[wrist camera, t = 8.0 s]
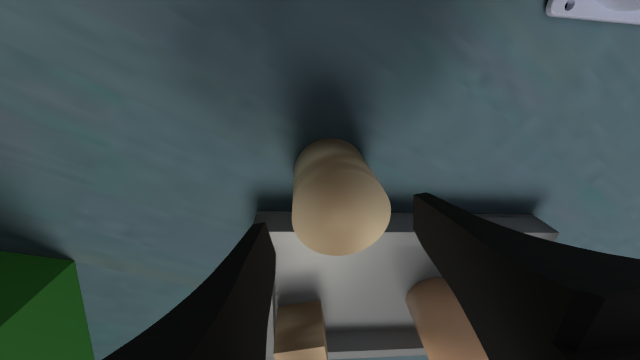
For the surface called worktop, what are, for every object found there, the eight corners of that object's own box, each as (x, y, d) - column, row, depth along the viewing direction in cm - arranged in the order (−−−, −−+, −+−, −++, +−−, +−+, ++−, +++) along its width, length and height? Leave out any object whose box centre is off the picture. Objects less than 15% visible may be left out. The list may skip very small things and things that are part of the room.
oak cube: (320, 300, 22) (324, 346, 18) (325, 326, 24) (329, 373, 20) (277, 306, 22) (273, 353, 18) (285, 332, 24) (282, 380, 20)
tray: (532, 214, 20) (559, 232, 18) (469, 329, 27) (483, 352, 25) (257, 211, 18) (251, 231, 16) (265, 336, 25) (261, 362, 23)
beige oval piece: (369, 139, 16) (400, 174, 11) (359, 203, 18) (381, 255, 13) (294, 136, 16) (292, 171, 11) (293, 202, 18) (291, 256, 13)
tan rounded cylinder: (462, 275, 22) (519, 353, 16) (452, 310, 24) (499, 390, 18) (407, 280, 22) (444, 360, 16) (403, 315, 24) (434, 396, 18)
